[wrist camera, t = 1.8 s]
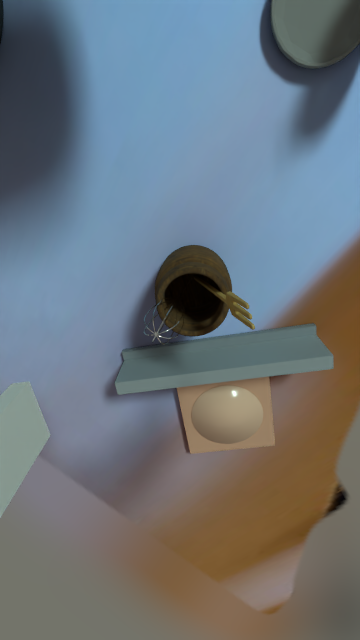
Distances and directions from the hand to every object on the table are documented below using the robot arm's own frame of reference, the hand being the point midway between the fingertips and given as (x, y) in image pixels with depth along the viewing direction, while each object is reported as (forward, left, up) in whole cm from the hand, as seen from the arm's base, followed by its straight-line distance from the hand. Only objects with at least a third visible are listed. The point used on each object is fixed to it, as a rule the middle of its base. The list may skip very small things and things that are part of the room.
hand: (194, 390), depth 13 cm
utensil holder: (0, 0, -17) cm, 17 cm away
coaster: (+14, +1, -17) cm, 22 cm away
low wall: (+7, +1, -17) cm, 18 cm away
